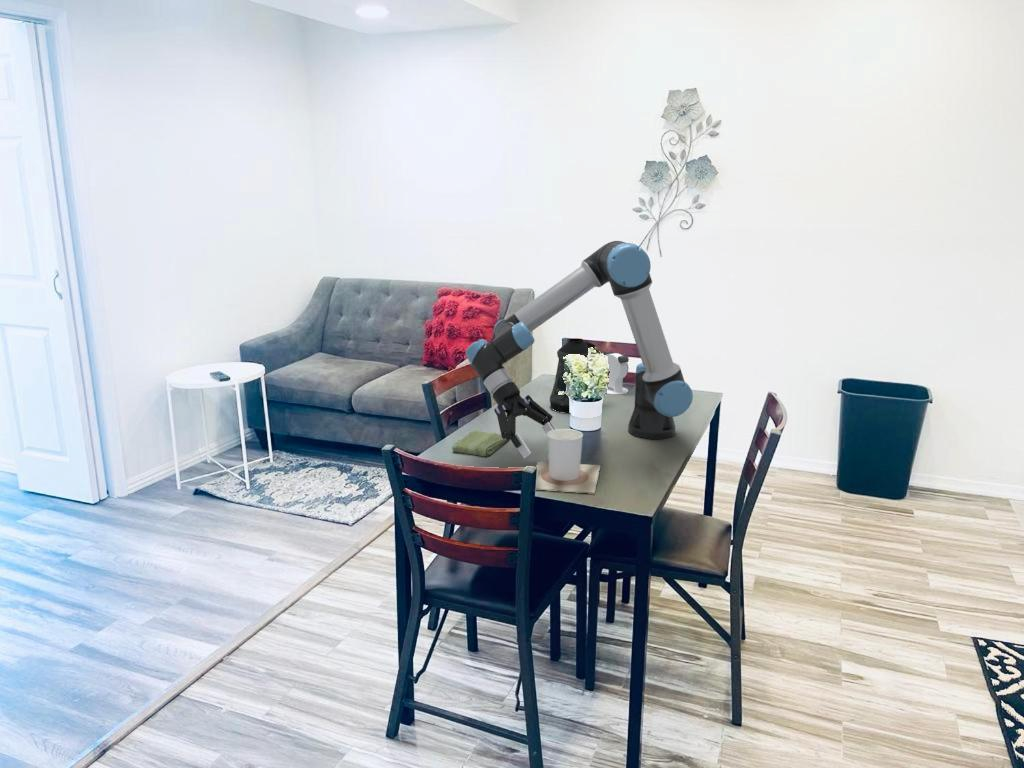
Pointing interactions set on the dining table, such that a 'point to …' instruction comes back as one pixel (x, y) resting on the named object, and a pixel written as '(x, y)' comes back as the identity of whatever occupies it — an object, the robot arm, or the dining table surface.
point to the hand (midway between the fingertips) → (543, 449)
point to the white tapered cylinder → (564, 454)
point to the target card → (579, 485)
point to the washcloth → (479, 443)
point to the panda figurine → (617, 372)
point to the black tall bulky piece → (571, 347)
